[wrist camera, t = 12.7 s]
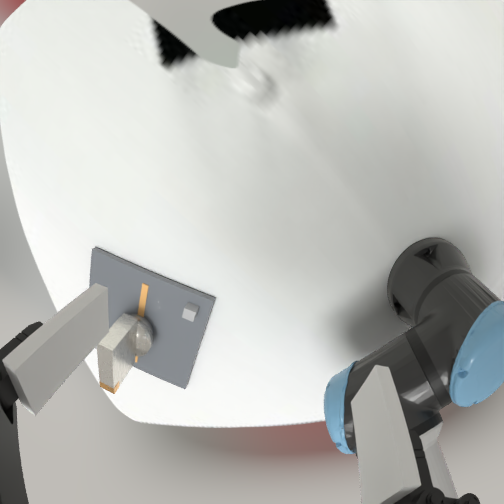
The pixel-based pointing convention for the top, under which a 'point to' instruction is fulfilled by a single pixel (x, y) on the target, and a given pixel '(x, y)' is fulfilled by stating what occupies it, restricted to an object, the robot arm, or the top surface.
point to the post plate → (155, 314)
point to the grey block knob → (122, 350)
